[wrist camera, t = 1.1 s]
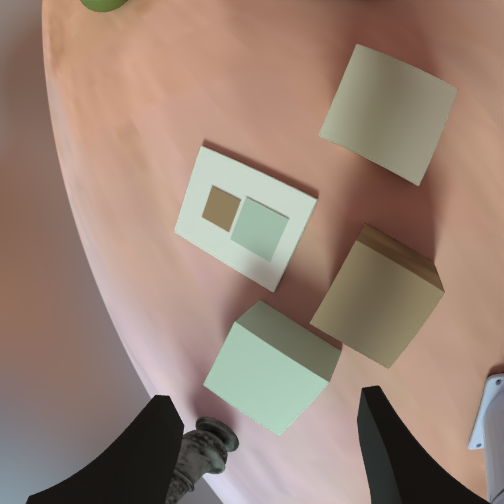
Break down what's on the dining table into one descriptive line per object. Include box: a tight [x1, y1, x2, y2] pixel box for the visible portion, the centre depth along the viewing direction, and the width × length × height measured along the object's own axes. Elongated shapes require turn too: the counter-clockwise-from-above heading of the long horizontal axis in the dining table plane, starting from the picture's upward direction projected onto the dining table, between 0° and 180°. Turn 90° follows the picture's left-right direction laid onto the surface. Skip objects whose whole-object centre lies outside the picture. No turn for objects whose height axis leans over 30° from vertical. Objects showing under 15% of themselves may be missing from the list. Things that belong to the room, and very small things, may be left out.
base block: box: [203, 300, 342, 436], centre depth 21 cm, size 7×7×4 cm
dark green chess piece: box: [165, 417, 239, 504], centre depth 24 cm, size 6×6×12 cm
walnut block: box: [309, 223, 445, 369], centre depth 16 cm, size 5×5×5 cm
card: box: [174, 146, 318, 292], centre depth 21 cm, size 9×7×1 cm
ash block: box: [318, 44, 458, 186], centre depth 14 cm, size 5×5×5 cm
